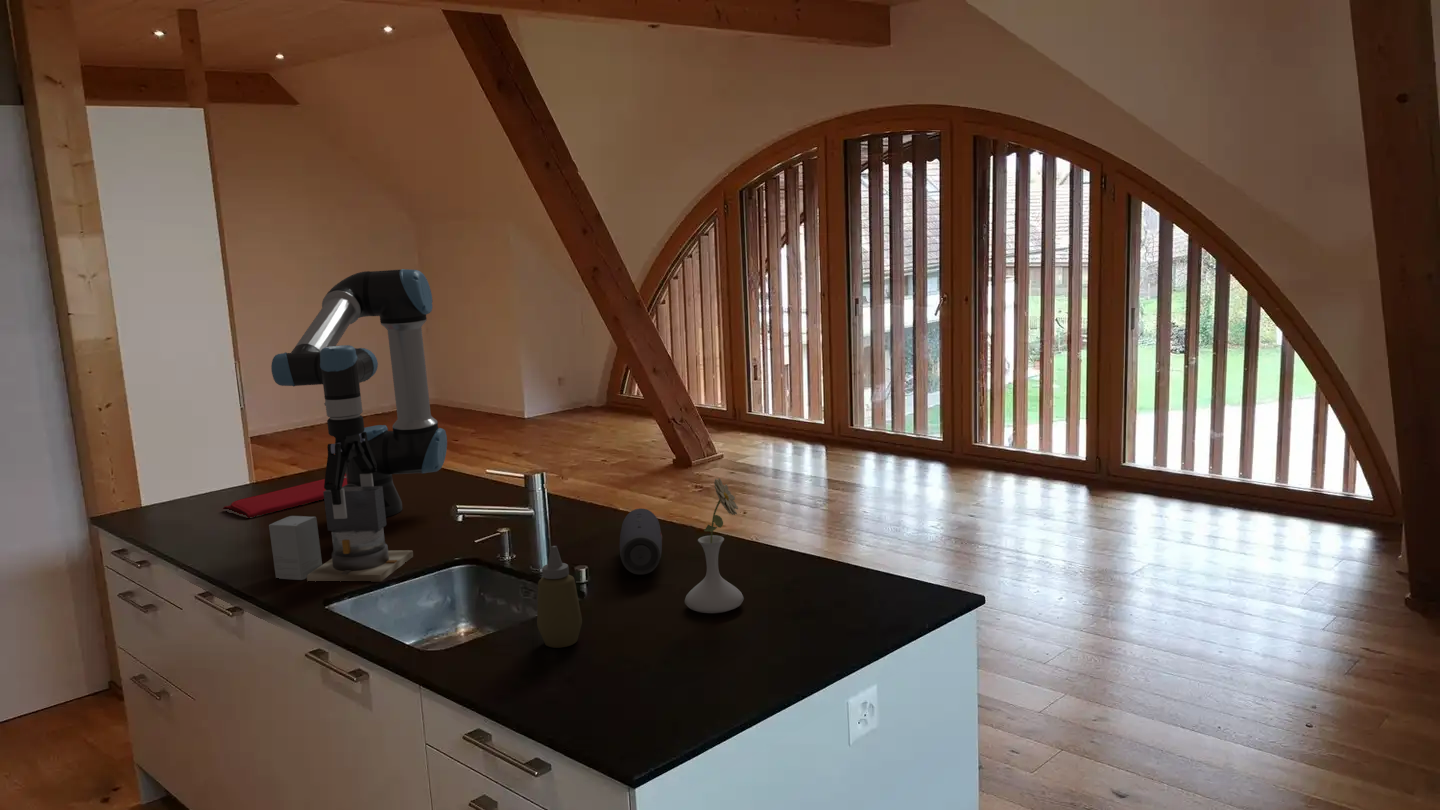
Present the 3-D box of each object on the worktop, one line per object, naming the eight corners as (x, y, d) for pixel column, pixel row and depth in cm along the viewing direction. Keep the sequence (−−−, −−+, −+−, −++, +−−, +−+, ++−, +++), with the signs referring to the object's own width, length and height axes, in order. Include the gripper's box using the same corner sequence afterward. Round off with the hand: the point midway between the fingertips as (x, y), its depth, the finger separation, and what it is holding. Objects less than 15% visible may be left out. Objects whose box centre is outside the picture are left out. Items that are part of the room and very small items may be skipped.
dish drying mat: (222, 513, 298) (220, 500, 297) (354, 481, 328) (353, 469, 328) (249, 521, 288) (247, 508, 287) (383, 487, 318) (382, 475, 318)
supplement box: (324, 570, 241) (317, 516, 239) (301, 581, 234) (294, 525, 232) (297, 568, 244) (291, 514, 241) (274, 578, 237) (267, 524, 234)
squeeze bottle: (540, 635, 196) (532, 541, 193) (584, 632, 197) (577, 538, 194) (536, 653, 188) (528, 555, 185) (582, 649, 189) (575, 552, 186)
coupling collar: (346, 541, 246) (339, 483, 244) (395, 541, 244) (389, 482, 242) (320, 558, 235) (313, 496, 232) (372, 558, 233) (365, 495, 230)
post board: (344, 556, 250) (342, 538, 249) (413, 556, 248) (411, 537, 247) (307, 581, 234) (305, 562, 233) (381, 581, 231) (378, 561, 230)
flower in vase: (724, 622, 198) (717, 492, 194) (673, 613, 204) (666, 486, 200) (759, 599, 209) (753, 476, 205) (710, 591, 215) (703, 471, 211)
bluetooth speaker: (664, 579, 224) (661, 533, 222) (620, 582, 223) (617, 536, 222) (662, 546, 246) (660, 504, 245) (622, 549, 246) (619, 507, 244)
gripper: (355, 406, 247) (364, 495, 251) (299, 428, 223) (311, 525, 227) (385, 405, 246) (395, 494, 250) (333, 427, 222) (344, 525, 226)
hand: (355, 509), depth 238 cm, fingers open, 13 cm apart
